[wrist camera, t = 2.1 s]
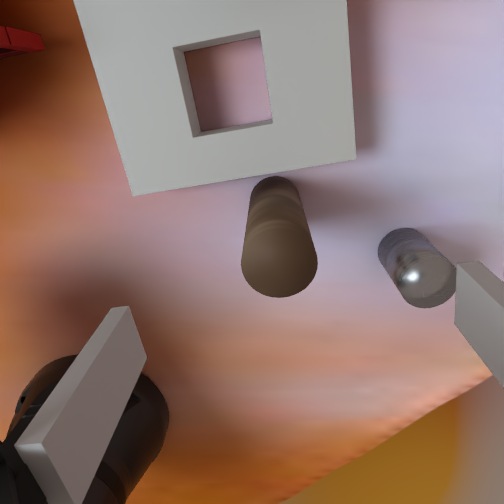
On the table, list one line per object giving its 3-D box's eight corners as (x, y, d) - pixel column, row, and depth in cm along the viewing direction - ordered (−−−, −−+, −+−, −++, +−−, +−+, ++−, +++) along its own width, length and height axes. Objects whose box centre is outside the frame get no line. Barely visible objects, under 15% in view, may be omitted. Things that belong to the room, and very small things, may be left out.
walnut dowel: (254, 227, 32) (248, 301, 21) (246, 180, 30) (234, 234, 19) (302, 220, 32) (321, 292, 21) (296, 172, 30) (313, 223, 19)
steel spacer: (378, 274, 33) (400, 311, 28) (376, 231, 32) (399, 262, 26) (425, 267, 33) (457, 304, 27) (426, 224, 31) (460, 254, 26)
